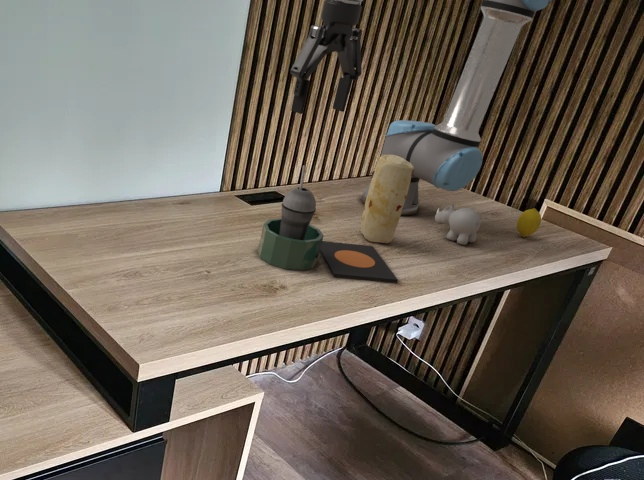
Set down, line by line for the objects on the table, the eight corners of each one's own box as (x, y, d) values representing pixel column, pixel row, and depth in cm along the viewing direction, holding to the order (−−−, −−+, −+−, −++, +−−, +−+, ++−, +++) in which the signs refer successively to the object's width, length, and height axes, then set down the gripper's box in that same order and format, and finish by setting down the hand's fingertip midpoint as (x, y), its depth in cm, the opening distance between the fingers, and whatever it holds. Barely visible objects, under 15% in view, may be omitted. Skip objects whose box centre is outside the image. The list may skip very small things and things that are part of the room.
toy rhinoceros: (440, 226, 182) (450, 195, 178) (478, 244, 174) (490, 212, 170) (423, 229, 178) (433, 198, 174) (461, 247, 170) (473, 215, 166)
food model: (397, 244, 167) (423, 162, 156) (381, 248, 163) (406, 165, 152) (365, 229, 173) (388, 150, 162) (348, 233, 169) (371, 152, 158)
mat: (314, 243, 160) (315, 239, 159) (371, 249, 161) (372, 245, 161) (333, 276, 145) (334, 273, 144) (396, 283, 146) (398, 279, 146)
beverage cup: (282, 265, 146) (304, 173, 136) (264, 251, 151) (283, 162, 141) (310, 263, 149) (332, 172, 139) (290, 249, 155) (311, 161, 144)
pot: (254, 243, 155) (260, 215, 152) (308, 248, 156) (315, 221, 153) (263, 266, 144) (269, 238, 141) (321, 272, 146) (329, 244, 142)
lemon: (535, 242, 182) (548, 213, 177) (514, 238, 182) (526, 209, 178) (530, 235, 186) (542, 207, 182) (509, 231, 187) (521, 203, 183)
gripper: (317, -1, 126) (291, 118, 137) (395, 7, 141) (367, 113, 152) (287, -7, 131) (265, 108, 142) (366, 1, 145) (341, 105, 156)
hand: (318, 111), depth 147 cm, fingers open, 13 cm apart
